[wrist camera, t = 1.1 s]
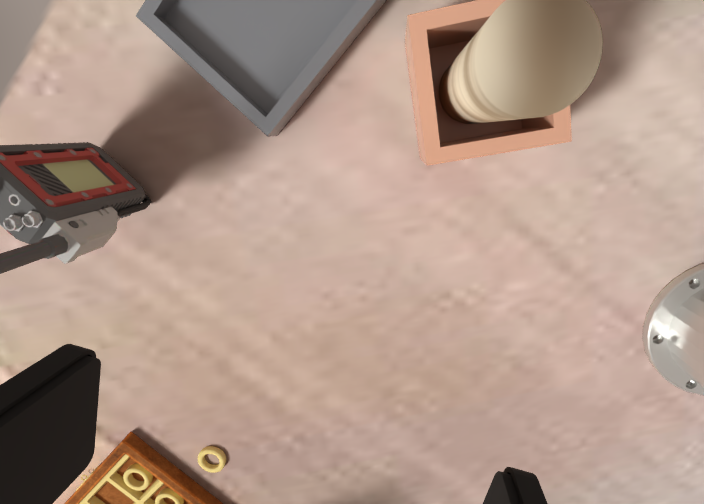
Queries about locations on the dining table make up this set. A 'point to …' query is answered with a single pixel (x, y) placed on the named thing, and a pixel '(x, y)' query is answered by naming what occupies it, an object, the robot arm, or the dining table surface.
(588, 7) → the birch dowel
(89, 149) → the walkie-talkie
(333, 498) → the dining table surface
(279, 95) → the charcoal tray
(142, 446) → the game set
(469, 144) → the terracotta box
